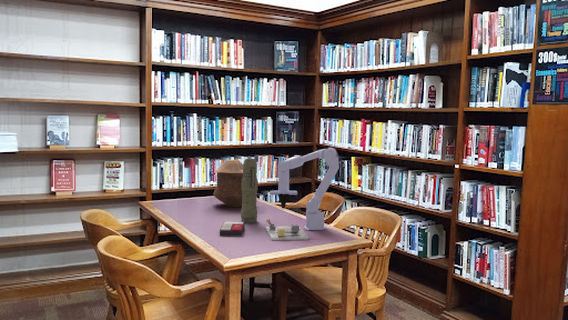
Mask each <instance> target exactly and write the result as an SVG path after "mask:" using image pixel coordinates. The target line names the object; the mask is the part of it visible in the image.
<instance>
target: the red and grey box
mask: <svg viewBox="0 0 568 320" xmlns="http://www.w3.org/2000/svg"><path fill="white" fill-rule="evenodd" d="M244 231H245V223H244V222H241V221H224V222H223V223H222V225H221V227H220V229H219V236H221V237H225V236H226V237H242V236H243V234H244Z"/></svg>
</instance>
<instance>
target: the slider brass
mask: <svg viewBox="0 0 568 320" xmlns="http://www.w3.org/2000/svg"><path fill="white" fill-rule="evenodd" d="M277 235H278V236H285V230H284V228H280V229H278V233H277Z"/></svg>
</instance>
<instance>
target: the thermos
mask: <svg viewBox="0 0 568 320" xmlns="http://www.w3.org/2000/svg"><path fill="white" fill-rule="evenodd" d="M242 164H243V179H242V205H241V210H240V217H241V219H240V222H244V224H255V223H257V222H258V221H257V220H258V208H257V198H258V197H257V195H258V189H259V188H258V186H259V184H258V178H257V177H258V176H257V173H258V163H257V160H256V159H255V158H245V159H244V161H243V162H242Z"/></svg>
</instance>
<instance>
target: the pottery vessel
mask: <svg viewBox="0 0 568 320" xmlns="http://www.w3.org/2000/svg"><path fill="white" fill-rule="evenodd" d="M214 173H216V187H215V188H214V191H213V194H212V195H213V197H214V198H216V199H217V200H218V201H220V202H222V203H223V204H225V205H226V206H227V207H230V208H241V207H242V179H243V162H241V160H239V159H226V160H225V161H224V162H223V163H222V164H221V165H220V166H219V167H217V168H216V169H215V170H214Z"/></svg>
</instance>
